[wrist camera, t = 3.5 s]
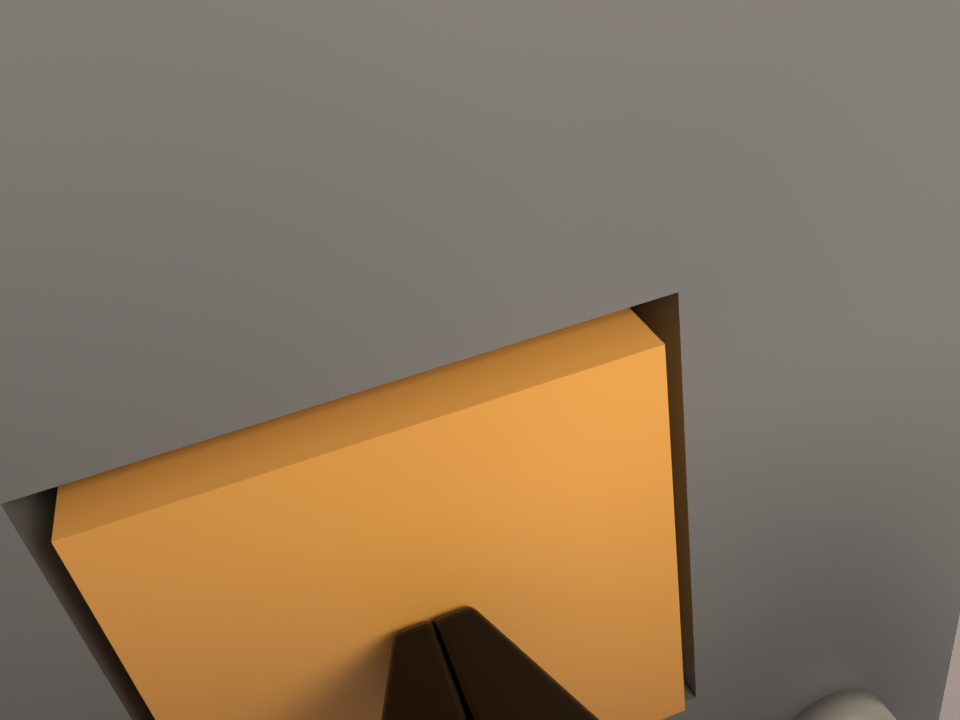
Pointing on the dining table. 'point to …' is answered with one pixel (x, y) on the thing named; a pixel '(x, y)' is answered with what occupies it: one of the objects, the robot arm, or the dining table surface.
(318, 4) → the breaker panel
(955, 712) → the dining table surface
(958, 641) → the dining table surface
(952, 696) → the dining table surface
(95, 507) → the breaker button
